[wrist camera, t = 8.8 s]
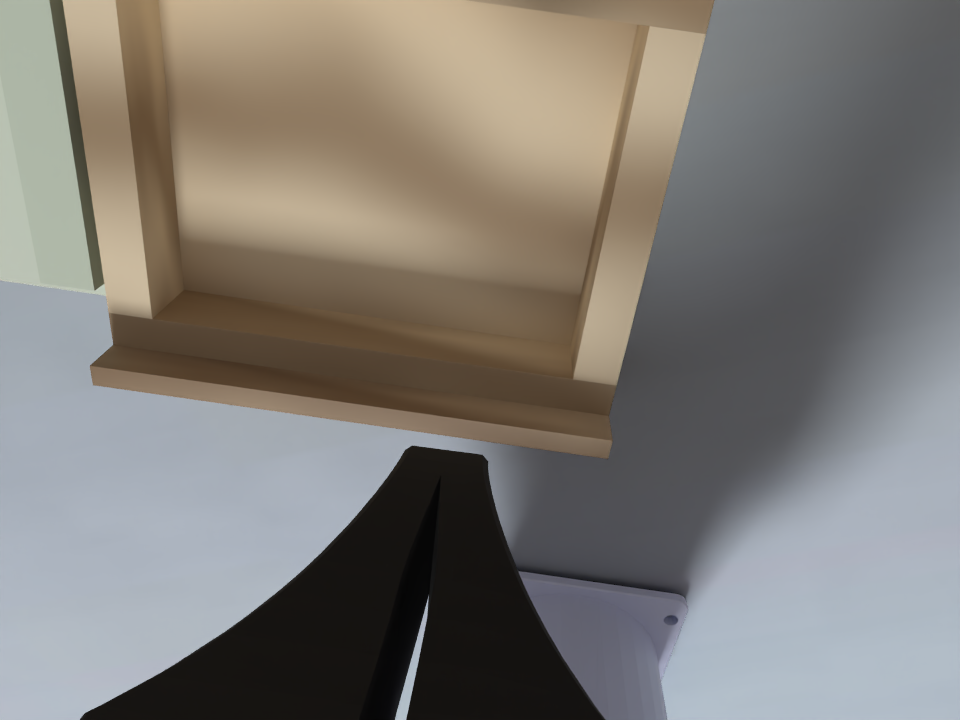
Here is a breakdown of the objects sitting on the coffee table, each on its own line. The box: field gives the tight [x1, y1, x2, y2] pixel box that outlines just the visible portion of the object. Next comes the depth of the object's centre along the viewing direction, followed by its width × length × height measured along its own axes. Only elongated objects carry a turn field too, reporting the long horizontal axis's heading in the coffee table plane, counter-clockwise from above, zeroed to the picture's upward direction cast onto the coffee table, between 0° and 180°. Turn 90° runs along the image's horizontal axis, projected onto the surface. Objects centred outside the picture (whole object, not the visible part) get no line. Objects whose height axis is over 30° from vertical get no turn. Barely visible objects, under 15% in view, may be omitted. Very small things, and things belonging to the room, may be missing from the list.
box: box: [63, 0, 714, 459], centre depth 18 cm, size 12×14×4 cm
